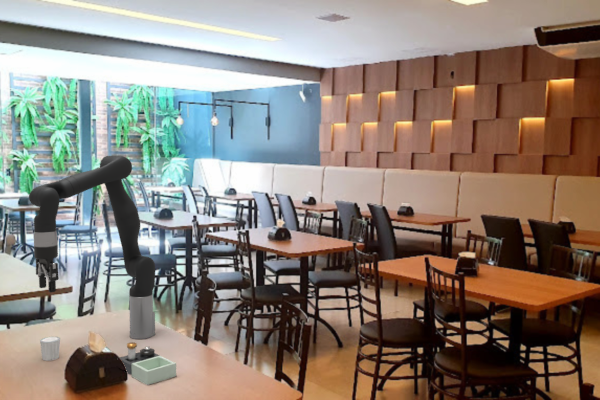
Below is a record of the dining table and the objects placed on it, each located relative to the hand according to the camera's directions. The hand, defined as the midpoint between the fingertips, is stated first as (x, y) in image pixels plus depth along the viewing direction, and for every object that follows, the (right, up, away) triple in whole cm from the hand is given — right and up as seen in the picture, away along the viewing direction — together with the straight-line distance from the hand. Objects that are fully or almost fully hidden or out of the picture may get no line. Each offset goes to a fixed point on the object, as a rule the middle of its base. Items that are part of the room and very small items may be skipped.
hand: (47, 289), depth 201 cm
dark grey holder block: (+32, -27, +1) cm, 42 cm away
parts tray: (+39, -28, -7) cm, 49 cm away
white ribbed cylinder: (-3, -26, +8) cm, 28 cm away
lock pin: (+30, -27, -1) cm, 41 cm away
